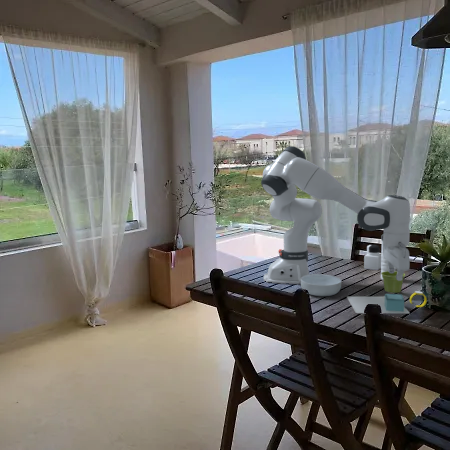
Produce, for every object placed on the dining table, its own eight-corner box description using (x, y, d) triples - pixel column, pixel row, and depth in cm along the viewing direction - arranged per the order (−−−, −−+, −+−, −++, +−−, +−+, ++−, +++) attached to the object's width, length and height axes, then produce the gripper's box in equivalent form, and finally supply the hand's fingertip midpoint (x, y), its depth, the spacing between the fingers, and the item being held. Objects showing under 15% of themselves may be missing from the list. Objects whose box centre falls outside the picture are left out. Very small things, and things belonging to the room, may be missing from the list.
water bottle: (397, 281, 201) (398, 227, 197) (382, 281, 202) (384, 228, 198) (391, 276, 210) (393, 224, 206) (378, 276, 210) (379, 225, 207)
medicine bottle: (381, 267, 227) (382, 244, 225) (378, 270, 221) (378, 247, 219) (367, 265, 230) (368, 243, 229) (363, 268, 225) (364, 246, 223)
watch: (423, 306, 169) (425, 291, 168) (426, 308, 166) (428, 293, 165) (408, 305, 169) (409, 290, 168) (410, 307, 166) (412, 292, 165)
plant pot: (377, 290, 188) (378, 271, 187) (399, 290, 188) (400, 270, 187) (384, 297, 179) (385, 277, 178) (408, 297, 179) (408, 276, 177)
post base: (356, 316, 158) (356, 303, 158) (346, 300, 177) (346, 288, 176) (410, 317, 157) (410, 303, 156) (394, 300, 175) (395, 288, 174)
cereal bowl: (315, 304, 174) (315, 287, 172) (293, 292, 189) (293, 277, 188) (349, 297, 180) (350, 281, 179) (325, 287, 195) (325, 272, 194)
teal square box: (401, 305, 164) (401, 294, 163) (403, 311, 158) (404, 299, 158) (384, 305, 166) (384, 293, 165) (386, 310, 160) (386, 298, 159)
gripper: (415, 245, 148) (413, 284, 150) (396, 234, 168) (395, 269, 170) (396, 245, 149) (394, 284, 151) (379, 234, 169) (379, 269, 171)
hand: (395, 276), depth 161 cm, fingers open, 8 cm apart
